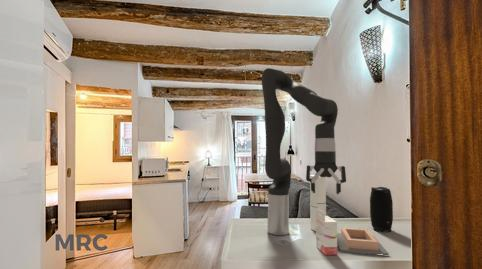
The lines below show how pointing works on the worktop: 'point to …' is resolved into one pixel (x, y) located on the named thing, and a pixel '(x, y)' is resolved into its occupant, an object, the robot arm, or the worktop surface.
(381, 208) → the portable speaker
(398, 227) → the worktop surface
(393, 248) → the worktop surface
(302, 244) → the worktop surface
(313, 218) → the cylindrical container
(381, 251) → the dock
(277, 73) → the robot arm
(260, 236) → the worktop surface
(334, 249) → the ink cartridge box
